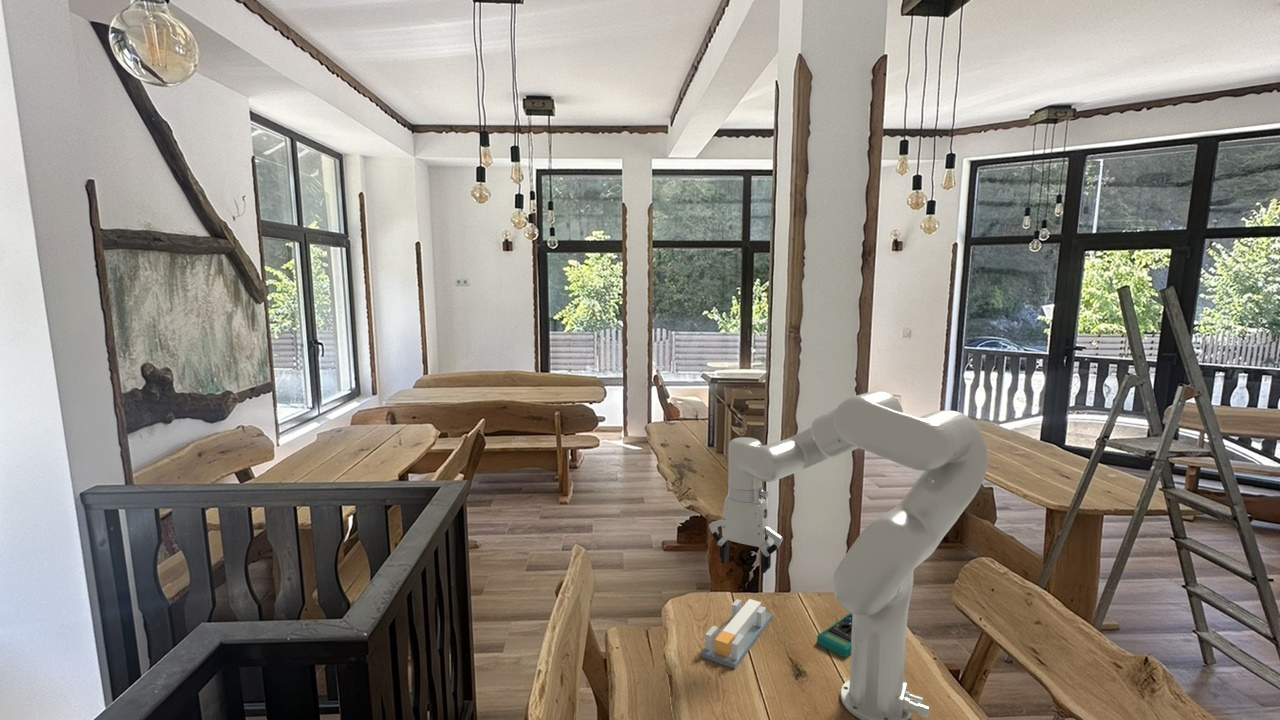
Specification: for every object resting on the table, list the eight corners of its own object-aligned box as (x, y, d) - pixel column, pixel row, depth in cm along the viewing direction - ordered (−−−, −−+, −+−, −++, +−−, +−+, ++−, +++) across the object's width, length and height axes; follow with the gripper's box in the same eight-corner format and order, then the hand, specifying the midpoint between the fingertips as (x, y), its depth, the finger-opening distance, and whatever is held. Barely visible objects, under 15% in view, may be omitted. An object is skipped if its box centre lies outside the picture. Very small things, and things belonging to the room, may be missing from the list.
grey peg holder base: (772, 617, 142) (772, 600, 142) (735, 669, 123) (735, 649, 122) (741, 608, 146) (742, 591, 146) (701, 656, 127) (701, 637, 126)
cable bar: (760, 613, 142) (761, 602, 142) (727, 656, 125) (727, 643, 125) (749, 610, 144) (749, 598, 143) (714, 652, 127) (714, 639, 127)
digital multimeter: (878, 634, 136) (879, 622, 136) (845, 660, 126) (845, 648, 126) (849, 621, 141) (850, 609, 141) (815, 645, 132) (815, 633, 131)
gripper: (788, 494, 130) (786, 568, 132) (716, 482, 139) (716, 551, 141) (777, 504, 124) (776, 581, 125) (703, 491, 133) (703, 563, 134)
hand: (744, 565), depth 133 cm, fingers open, 9 cm apart
